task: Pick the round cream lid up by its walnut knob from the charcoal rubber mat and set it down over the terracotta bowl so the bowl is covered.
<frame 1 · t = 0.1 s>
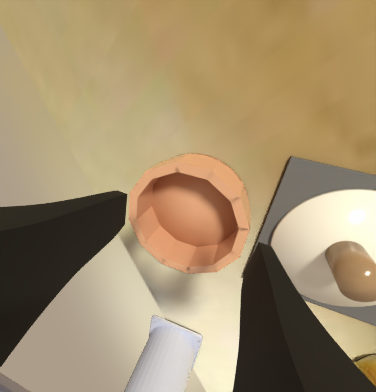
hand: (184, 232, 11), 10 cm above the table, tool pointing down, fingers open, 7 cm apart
mat: (341, 248, 18), on the table
lid: (342, 251, 18), resting on mat
bowl: (195, 204, 21), on the table
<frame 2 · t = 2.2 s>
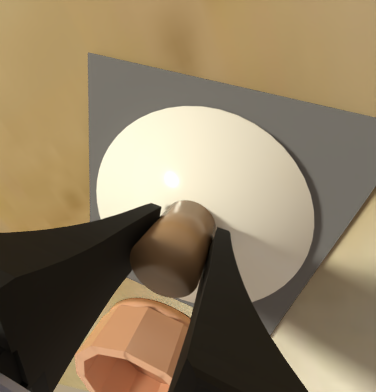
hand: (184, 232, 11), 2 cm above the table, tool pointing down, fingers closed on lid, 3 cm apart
mat: (193, 216, 12), on the table
lid: (191, 219, 12), resting on mat, touching gripper
bowl: (159, 343, 18), on the table
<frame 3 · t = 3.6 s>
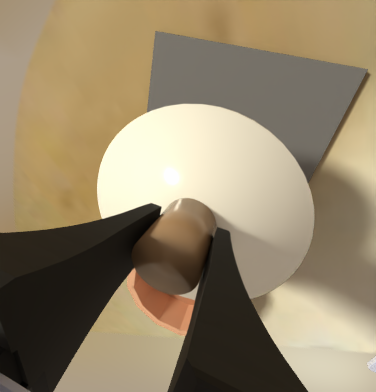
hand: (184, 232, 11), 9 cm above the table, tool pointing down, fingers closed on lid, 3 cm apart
mat: (222, 150, 17), on the table
lid: (192, 217, 12), point 7 cm above the table, touching gripper
bowl: (188, 268, 23), on the table
when the fingers open (6 cm above the table, at t = 5.0 s): lid stays where it is, resting on bowl.
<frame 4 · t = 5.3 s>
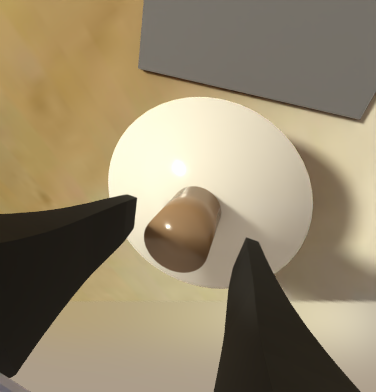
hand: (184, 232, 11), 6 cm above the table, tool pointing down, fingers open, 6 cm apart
lid: (198, 205, 12), point 4 cm above the table, touching bowl
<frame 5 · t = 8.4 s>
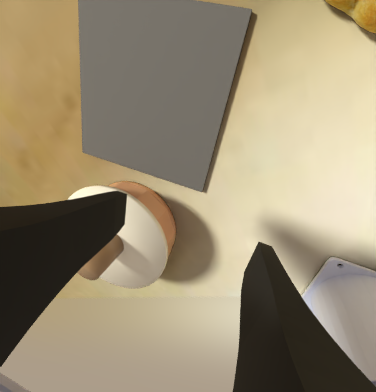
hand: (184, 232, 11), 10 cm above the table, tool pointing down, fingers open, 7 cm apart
mat: (148, 98, 18), on the table
lid: (114, 239, 21), point 4 cm above the table, touching bowl
bowl: (134, 223, 25), on the table
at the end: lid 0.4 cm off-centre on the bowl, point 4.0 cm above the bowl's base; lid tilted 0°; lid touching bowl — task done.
